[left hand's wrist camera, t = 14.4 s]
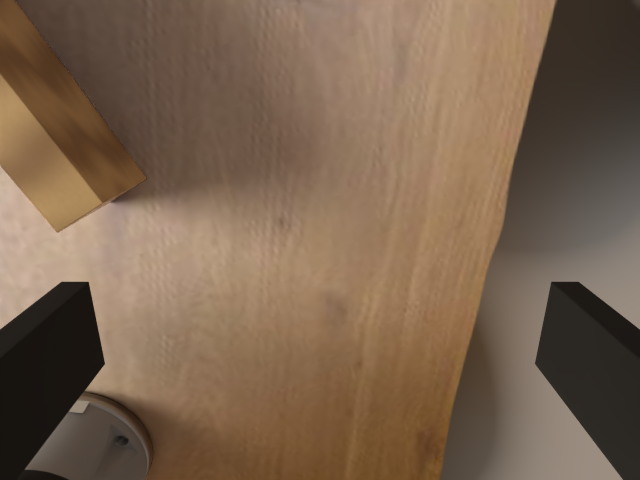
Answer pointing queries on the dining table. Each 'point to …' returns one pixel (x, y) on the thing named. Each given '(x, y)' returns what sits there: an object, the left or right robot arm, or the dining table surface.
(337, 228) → the dining table surface
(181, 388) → the dining table surface
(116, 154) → the bar
